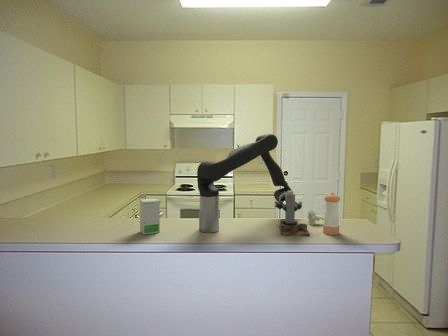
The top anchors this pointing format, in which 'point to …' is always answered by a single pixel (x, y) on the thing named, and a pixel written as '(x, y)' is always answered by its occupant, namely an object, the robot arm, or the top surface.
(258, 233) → the top surface
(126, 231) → the top surface
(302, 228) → the bit block
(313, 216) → the valve
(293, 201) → the grey square column
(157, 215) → the skincare box
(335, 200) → the pepper shaker
